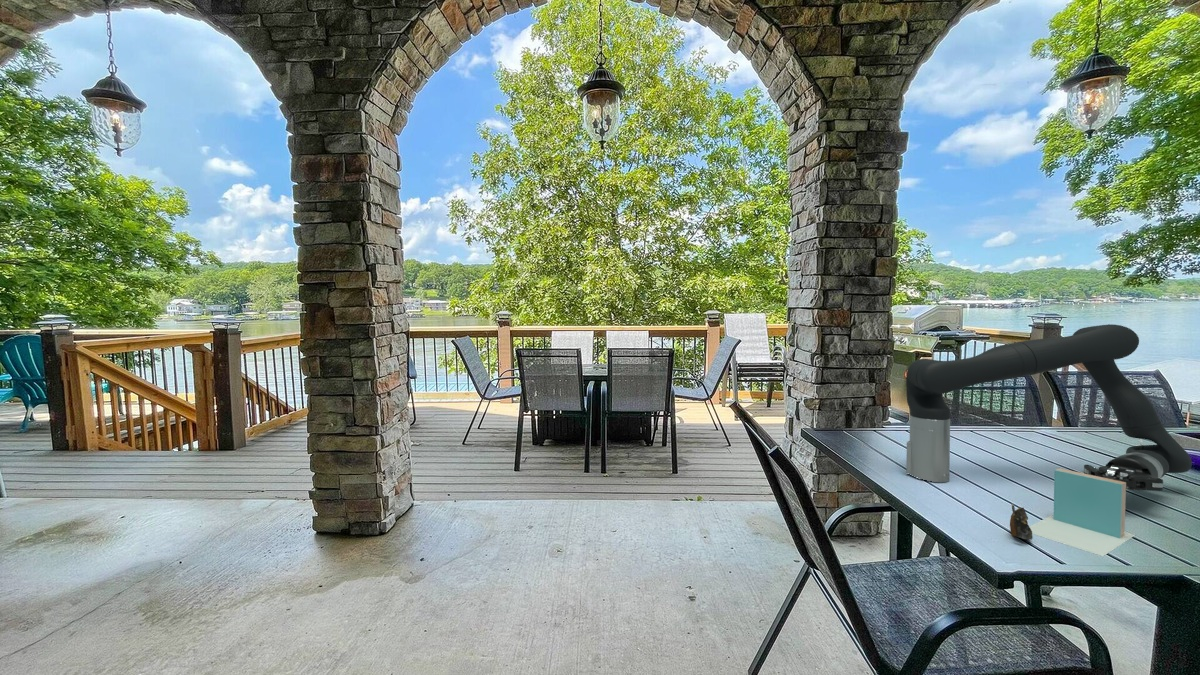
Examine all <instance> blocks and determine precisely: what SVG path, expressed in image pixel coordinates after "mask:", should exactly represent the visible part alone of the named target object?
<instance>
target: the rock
mask: <svg viewBox="0 0 1200 675" xmlns="http://www.w3.org/2000/svg"><path fill="white" fill-rule="evenodd" d="M1011 511H1012V514H1011V515H1010V520H1009V530H1010V533H1011V536H1012V537H1017V538H1021V539H1023V540H1029V541H1030V540H1031V541H1032V540H1033V539H1034V538H1033V534H1032V531H1031V529H1030V527H1029V526H1030V525H1029V524H1028V520H1029V516H1028V514H1027V511H1026V509H1025V508H1024V507H1018V508H1017V509H1015V505H1014V503H1012V502H1011Z"/></svg>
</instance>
